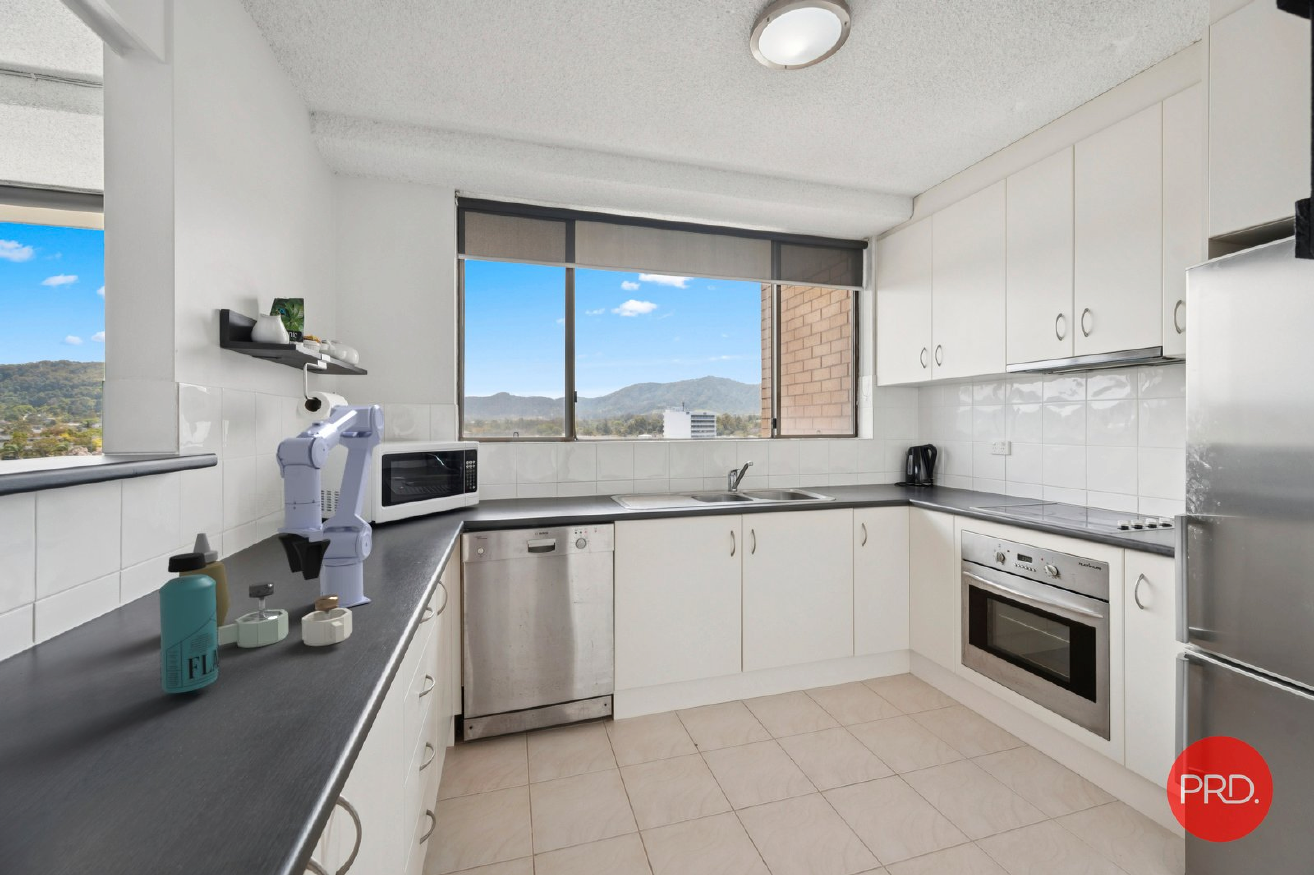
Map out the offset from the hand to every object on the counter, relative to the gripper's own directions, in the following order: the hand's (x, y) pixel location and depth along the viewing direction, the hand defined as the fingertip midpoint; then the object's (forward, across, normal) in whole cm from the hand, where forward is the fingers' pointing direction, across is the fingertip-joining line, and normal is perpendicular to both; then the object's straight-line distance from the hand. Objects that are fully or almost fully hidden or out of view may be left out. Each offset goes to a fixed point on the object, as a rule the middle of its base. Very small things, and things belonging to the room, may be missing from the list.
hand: (304, 575), depth 102 cm
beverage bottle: (+11, +15, -19) cm, 26 cm away
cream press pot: (+10, +8, +1) cm, 13 cm away
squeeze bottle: (+11, -16, -12) cm, 23 cm away
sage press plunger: (+7, -1, -7) cm, 10 cm away
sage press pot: (+10, -1, -8) cm, 13 cm away
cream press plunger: (+10, +7, +1) cm, 12 cm away
